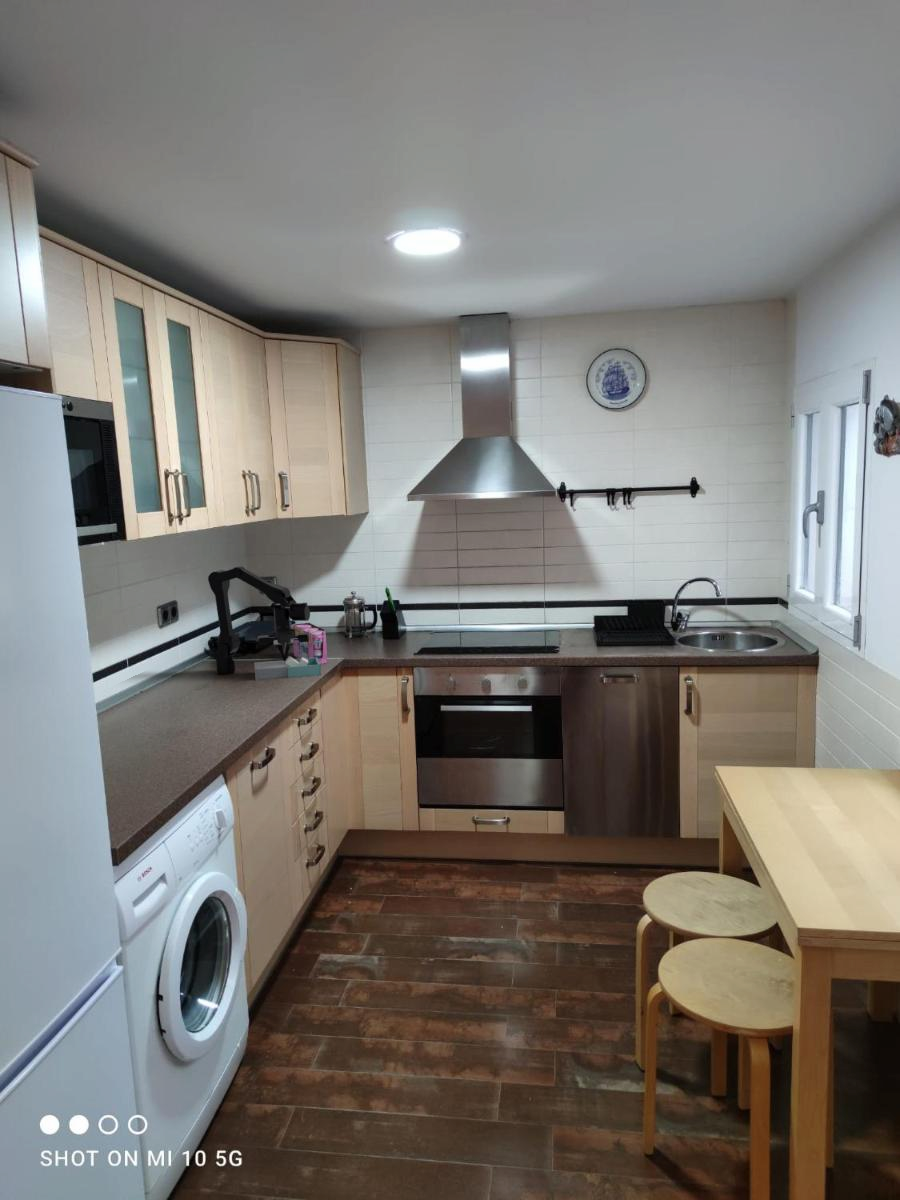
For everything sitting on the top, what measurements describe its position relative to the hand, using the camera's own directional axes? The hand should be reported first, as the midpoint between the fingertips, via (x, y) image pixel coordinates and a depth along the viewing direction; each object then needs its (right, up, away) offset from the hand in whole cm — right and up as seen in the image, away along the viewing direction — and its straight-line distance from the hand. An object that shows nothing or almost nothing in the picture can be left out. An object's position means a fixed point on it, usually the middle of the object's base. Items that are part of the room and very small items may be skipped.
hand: (284, 661), depth 298 cm
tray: (+6, -5, +2) cm, 8 cm away
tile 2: (+5, -1, +1) cm, 6 cm away
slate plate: (-5, -5, 0) cm, 7 cm away
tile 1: (+2, -2, +1) cm, 3 cm away
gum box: (+5, -2, +26) cm, 26 cm away
